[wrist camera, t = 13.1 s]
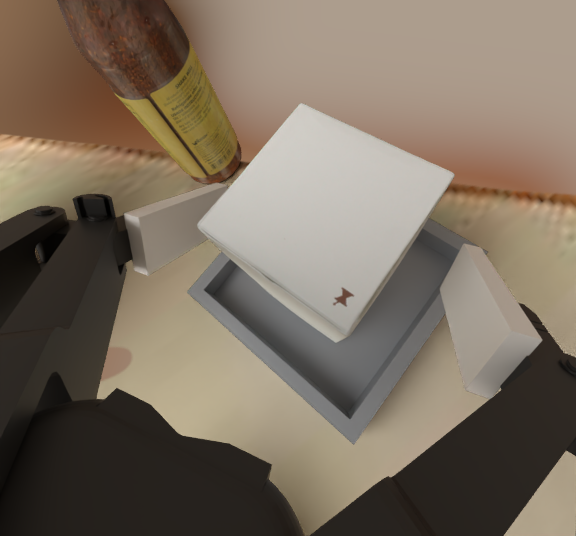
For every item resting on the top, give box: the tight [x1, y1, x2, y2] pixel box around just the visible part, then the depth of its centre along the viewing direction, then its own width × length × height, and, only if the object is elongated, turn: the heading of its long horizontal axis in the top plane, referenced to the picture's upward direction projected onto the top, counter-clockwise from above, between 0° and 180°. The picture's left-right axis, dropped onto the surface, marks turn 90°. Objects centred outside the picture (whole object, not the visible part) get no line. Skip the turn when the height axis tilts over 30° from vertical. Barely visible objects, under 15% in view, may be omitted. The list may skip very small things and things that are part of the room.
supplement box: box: [197, 103, 455, 343], centre depth 16 cm, size 7×7×13 cm
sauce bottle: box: [57, 0, 241, 184], centre depth 18 cm, size 6×6×20 cm
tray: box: [187, 218, 488, 444], centre depth 21 cm, size 16×16×2 cm
